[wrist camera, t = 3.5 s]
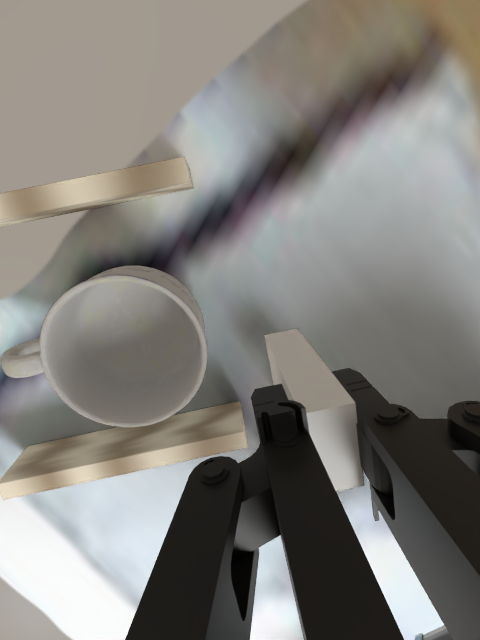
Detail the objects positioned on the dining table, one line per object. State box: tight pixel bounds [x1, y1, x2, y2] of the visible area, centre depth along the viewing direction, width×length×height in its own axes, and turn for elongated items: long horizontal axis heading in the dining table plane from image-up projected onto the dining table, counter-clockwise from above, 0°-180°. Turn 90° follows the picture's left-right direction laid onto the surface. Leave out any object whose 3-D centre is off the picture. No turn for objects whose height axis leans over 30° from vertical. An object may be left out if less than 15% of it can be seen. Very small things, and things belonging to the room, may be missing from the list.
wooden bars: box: [0, 157, 248, 500], centre depth 25 cm, size 27×27×10 cm
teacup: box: [1, 266, 208, 427], centre depth 27 cm, size 14×11×8 cm
